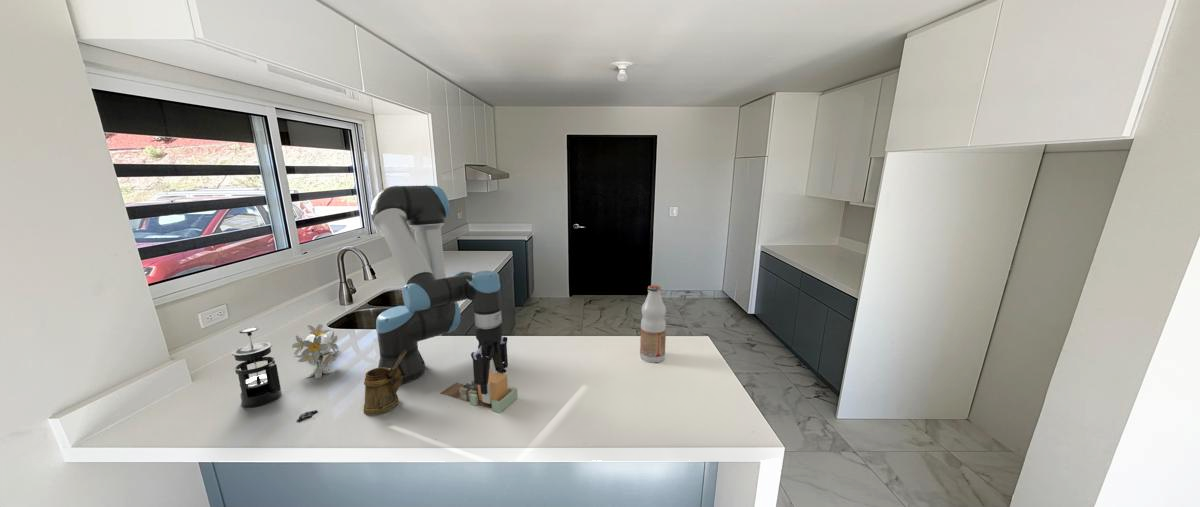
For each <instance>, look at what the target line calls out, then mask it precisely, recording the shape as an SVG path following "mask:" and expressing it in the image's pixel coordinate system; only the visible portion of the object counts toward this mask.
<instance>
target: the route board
mask: <svg viewBox="0 0 1200 507" xmlns="http://www.w3.org/2000/svg"><path fill="white" fill-rule="evenodd" d="M470 384H472V385H476V386H478V384H475V383H474V378H473V379H471V380H470ZM464 386H465V384H463V383H461V382H455V383H453V384H452V385H450V386H449V387H447V388H446V389H444V390H443V391H441V392H440V393H439V394H441V395H444V396H447V397H451V398H455V399H457V400H461V401H464V402H468V403H470V395H471V394H476V395H477V391H474V390H469V391H468V389H467V388H464ZM477 396H478V395H477ZM515 401H516V400H514V401H513V402H512V403H511V404H510V405H509V406H508V407H510V406H511V405H512V404H513V403H514V402H515ZM477 406H481V407H483V408H488V409H491V410H492V404H491V403H490V404H488V403H485V402H483V401H481V400H479V396H478V405H477ZM508 407H506V408H505V409H504V410H503V411H502V412H501V413H503V412H504V411H505V410H506V409H507V408H508Z"/></svg>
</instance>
